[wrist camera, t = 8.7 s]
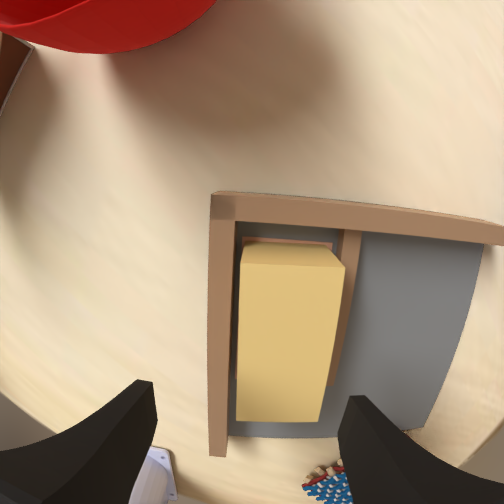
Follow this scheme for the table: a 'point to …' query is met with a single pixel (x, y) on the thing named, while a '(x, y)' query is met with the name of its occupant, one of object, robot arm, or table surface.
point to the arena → (350, 303)
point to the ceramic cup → (98, 22)
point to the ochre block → (286, 329)
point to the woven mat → (330, 485)
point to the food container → (11, 63)
